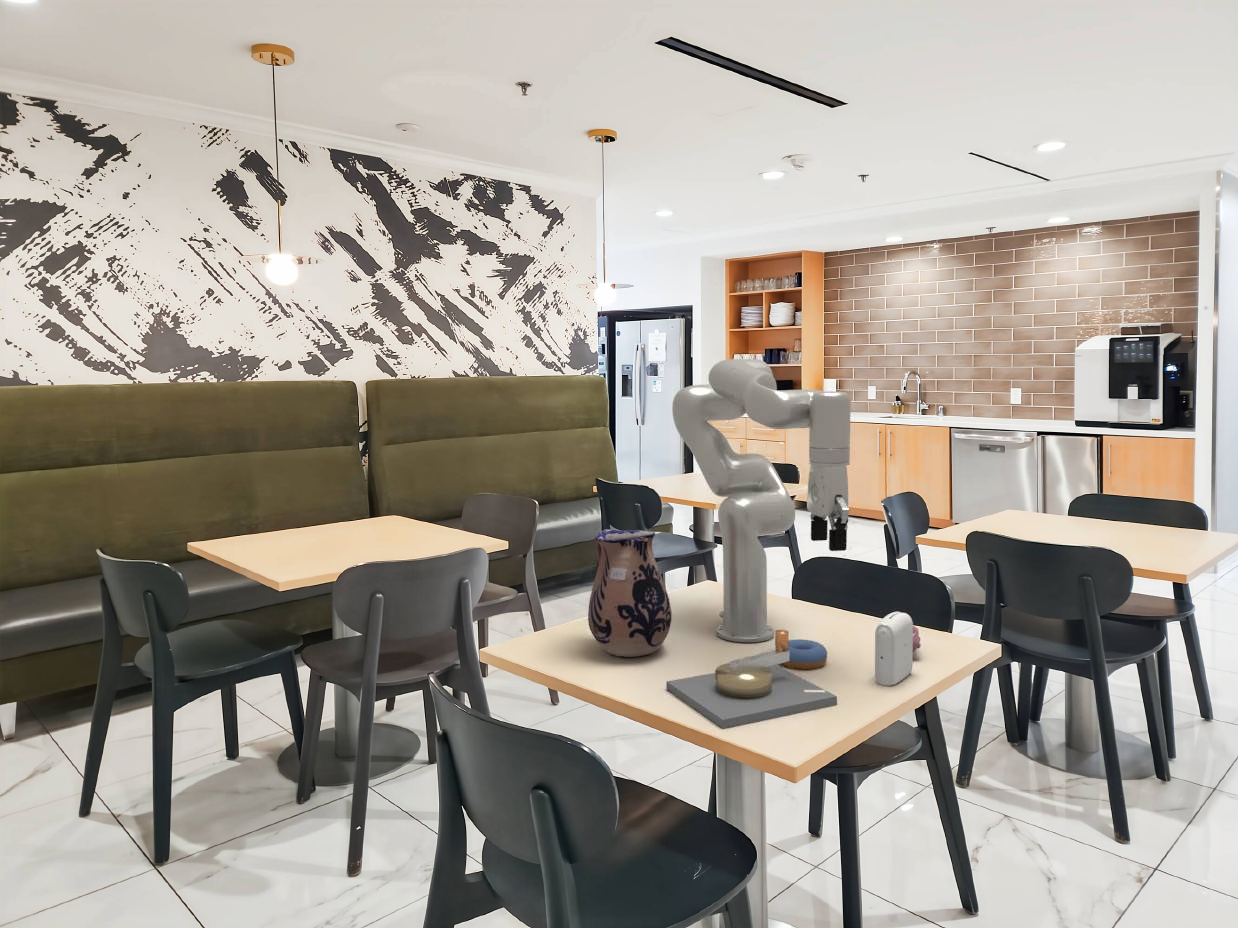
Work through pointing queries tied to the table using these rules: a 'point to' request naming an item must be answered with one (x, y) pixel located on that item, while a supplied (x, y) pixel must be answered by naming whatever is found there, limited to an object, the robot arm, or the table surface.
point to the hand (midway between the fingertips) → (828, 545)
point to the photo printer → (893, 648)
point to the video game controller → (916, 639)
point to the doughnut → (806, 654)
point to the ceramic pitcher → (628, 595)
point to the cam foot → (752, 671)
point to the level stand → (733, 711)
